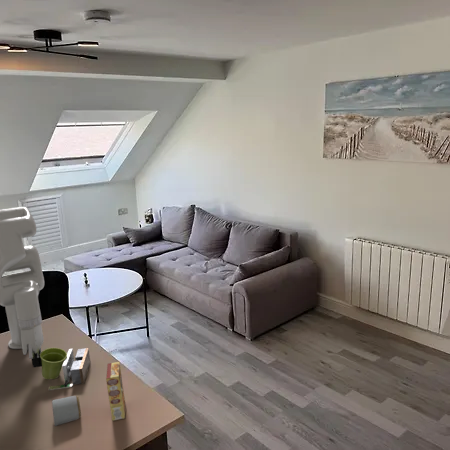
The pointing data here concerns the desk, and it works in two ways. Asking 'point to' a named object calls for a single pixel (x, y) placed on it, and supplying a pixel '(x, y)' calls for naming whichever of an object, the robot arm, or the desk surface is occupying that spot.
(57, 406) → the ceramic mug
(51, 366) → the plant pot
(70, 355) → the grey flat bar
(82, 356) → the grey slotted box
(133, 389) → the desk surface
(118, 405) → the candy box
